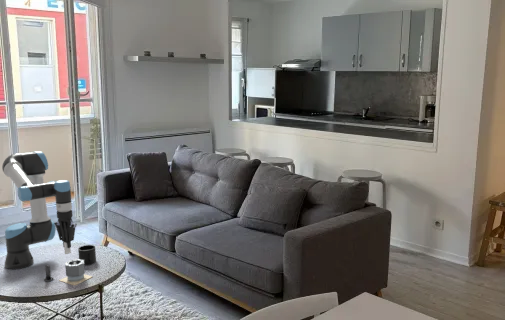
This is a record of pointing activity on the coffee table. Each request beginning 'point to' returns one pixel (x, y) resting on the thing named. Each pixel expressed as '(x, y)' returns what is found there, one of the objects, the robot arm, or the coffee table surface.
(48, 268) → the stand
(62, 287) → the coffee table surface
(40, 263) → the coffee table surface
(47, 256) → the coffee table surface
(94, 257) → the black cup
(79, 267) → the ring
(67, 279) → the hub
